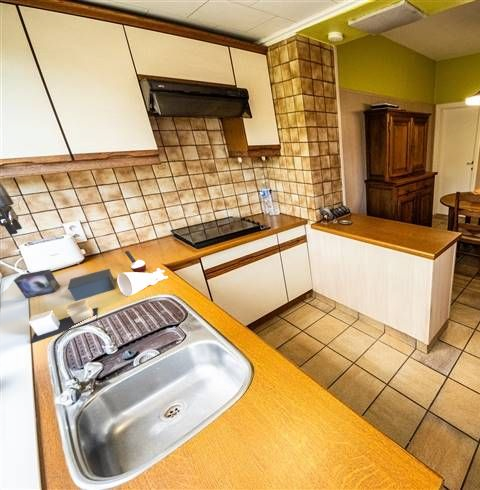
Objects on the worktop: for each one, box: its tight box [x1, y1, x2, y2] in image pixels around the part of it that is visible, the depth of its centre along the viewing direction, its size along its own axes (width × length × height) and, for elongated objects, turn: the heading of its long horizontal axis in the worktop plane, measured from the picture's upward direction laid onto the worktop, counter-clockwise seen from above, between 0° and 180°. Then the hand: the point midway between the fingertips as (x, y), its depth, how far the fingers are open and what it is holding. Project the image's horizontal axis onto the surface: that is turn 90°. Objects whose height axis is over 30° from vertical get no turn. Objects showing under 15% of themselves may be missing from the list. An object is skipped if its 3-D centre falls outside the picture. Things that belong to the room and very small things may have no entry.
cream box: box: [65, 299, 93, 323], centre depth 109 cm, size 6×5×6 cm
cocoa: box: [124, 250, 147, 273], centre depth 146 cm, size 10×6×12 cm, turn 44°
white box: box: [28, 309, 60, 336], centre depth 103 cm, size 6×5×6 cm
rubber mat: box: [30, 307, 99, 344], centre depth 107 cm, size 18×12×1 cm, turn 132°
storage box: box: [67, 268, 116, 302], centre depth 130 cm, size 14×12×7 cm
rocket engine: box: [116, 268, 169, 297], centre depth 132 cm, size 12×12×18 cm
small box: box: [13, 268, 61, 299], centre depth 130 cm, size 11×6×10 cm, turn 118°
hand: (16, 231), depth 116 cm, fingers open, 8 cm apart
